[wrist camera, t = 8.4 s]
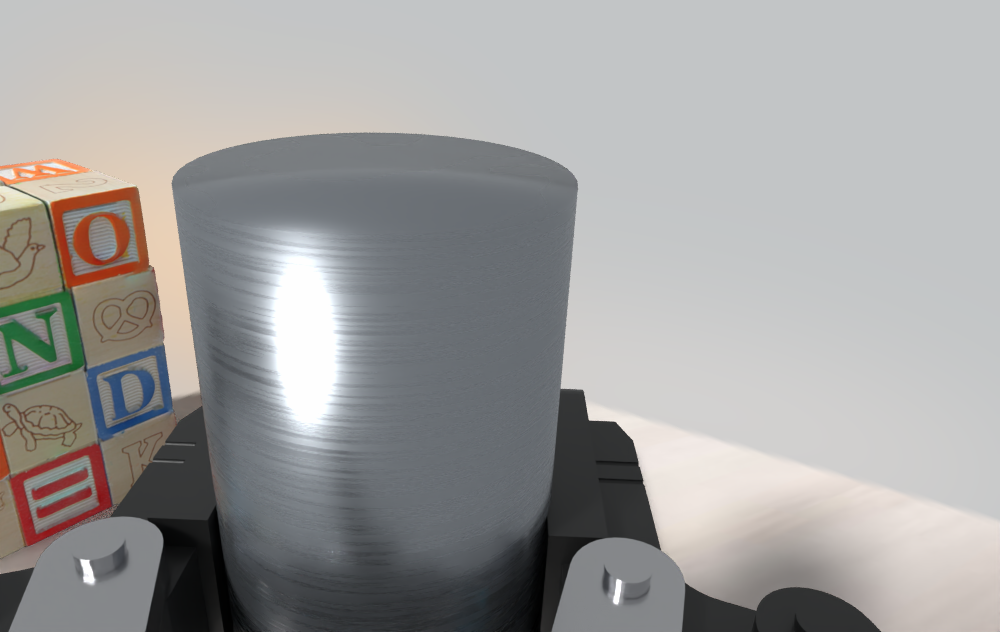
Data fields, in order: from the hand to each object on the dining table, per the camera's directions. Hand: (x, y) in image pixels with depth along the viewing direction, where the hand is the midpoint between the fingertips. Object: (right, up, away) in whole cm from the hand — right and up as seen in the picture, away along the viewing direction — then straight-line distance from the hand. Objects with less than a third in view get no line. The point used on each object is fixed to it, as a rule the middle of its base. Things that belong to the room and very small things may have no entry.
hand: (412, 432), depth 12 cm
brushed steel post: (0, -8, 0) cm, 8 cm away
